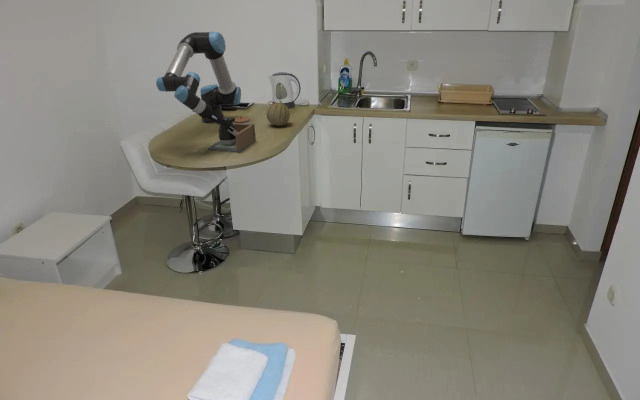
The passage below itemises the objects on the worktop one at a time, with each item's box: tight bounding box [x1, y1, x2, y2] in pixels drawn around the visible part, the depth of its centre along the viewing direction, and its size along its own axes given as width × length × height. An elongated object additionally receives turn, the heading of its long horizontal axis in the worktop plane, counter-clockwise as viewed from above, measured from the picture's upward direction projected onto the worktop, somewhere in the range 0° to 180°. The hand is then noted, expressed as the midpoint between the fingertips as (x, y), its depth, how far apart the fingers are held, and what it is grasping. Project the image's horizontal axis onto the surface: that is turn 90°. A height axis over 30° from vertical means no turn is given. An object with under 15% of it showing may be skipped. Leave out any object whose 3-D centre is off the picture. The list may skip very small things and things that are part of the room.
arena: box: [206, 123, 257, 153], centre depth 251 cm, size 20×20×10 cm
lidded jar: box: [233, 115, 251, 124], centre depth 276 cm, size 11×11×9 cm
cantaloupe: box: [266, 101, 291, 127], centre depth 283 cm, size 15×15×15 cm
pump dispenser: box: [218, 116, 236, 145], centre depth 249 cm, size 10×10×15 cm
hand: (233, 131), depth 251 cm, fingers open, 10 cm apart
